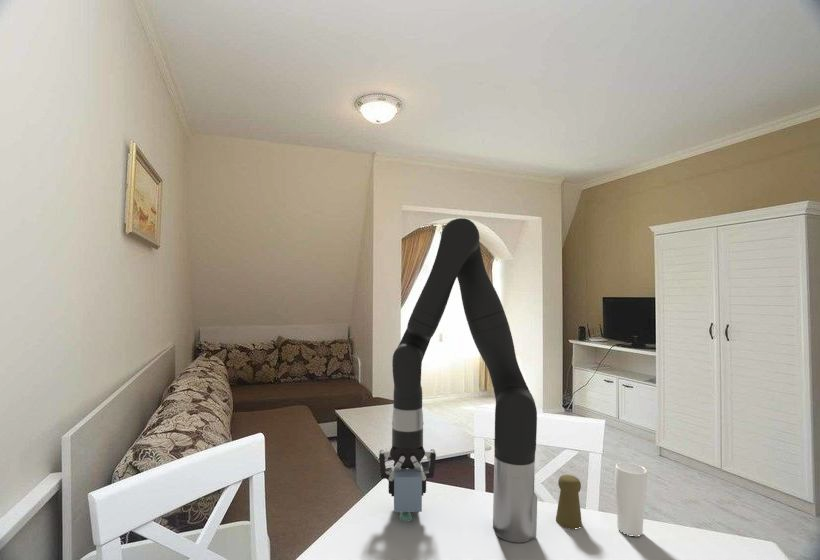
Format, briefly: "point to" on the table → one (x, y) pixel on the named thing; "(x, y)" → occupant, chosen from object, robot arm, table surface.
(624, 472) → the drinking glass
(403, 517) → the green marble
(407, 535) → the table surface
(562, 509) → the cork
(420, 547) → the table surface
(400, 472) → the blue-grey block
